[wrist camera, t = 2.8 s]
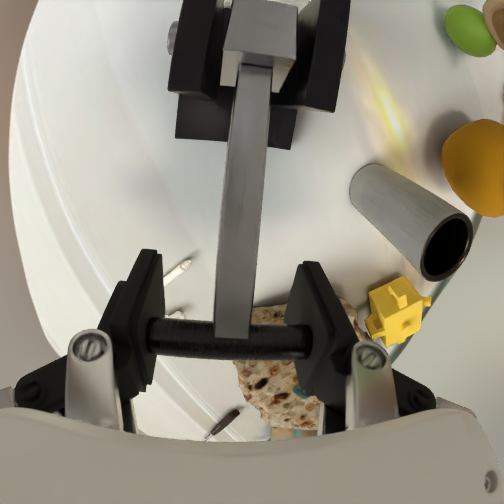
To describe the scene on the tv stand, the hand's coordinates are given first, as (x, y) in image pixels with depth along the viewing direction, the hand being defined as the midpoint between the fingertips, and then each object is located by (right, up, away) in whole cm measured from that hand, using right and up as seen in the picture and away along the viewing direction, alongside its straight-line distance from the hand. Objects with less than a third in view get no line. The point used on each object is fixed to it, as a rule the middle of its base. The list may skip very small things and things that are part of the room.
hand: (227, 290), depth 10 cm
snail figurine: (+20, +23, +2) cm, 30 cm away
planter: (+11, +7, +11) cm, 17 cm away
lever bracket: (0, +14, +5) cm, 15 cm away
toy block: (+16, -3, +17) cm, 24 cm away
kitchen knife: (-5, -31, +31) cm, 44 cm away
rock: (+6, -11, +22) cm, 25 cm away
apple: (+21, +11, +9) cm, 25 cm away
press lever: (+1, +4, -1) cm, 4 cm away
